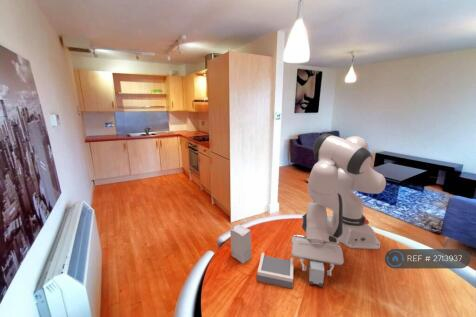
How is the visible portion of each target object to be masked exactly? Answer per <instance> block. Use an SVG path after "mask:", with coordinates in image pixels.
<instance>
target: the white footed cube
mask: <svg viewBox="0 0 476 317" xmlns="http://www.w3.org/2000/svg"><path fill="white" fill-rule="evenodd" d="M308 268H309V269H308V281H309V282H308V284H309V285H314V284H315V285H318V287H320V288H322V287H323V284H324V278H325V265H324V262H321V261H315V260H309V266H308Z"/></svg>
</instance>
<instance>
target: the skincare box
mask: <svg viewBox="0 0 476 317" xmlns="http://www.w3.org/2000/svg"><path fill="white" fill-rule="evenodd" d="M229 230H230V232H229V234H230V248H231V249H230V250H231V253H230V254H231V257H233V258H234V259H236V260H237V261H239V262H240V263H241V264H243V265H244V264H245V263H247V262H248V261H250V260H251V259H252V239H251V238H252V234H251V229H249V228H247V227H245V226H243V225H241V224H237V225H234V226H233V227H231V228H230V229H229Z"/></svg>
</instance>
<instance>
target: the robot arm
mask: <svg viewBox="0 0 476 317" xmlns="http://www.w3.org/2000/svg"><path fill="white" fill-rule="evenodd" d="M368 146H369V145H368V143H367V141H366V140H365V139H364V138H363V137H361V136H357V135H353V136H349V137H346V138H342V137H339V136H336V135H334V134H332V133H331V134H330V133H322V134H321V135H319V136H318V137H317V138H316V140H314V144H313V150H312V151H313V155H314V156H313V157H314V158H313V159H314V160H315V161H316V163H315V164H314V165H313V167H312V169H311V170H310V171H311V172H310V174H309V176H308V177H309V178H308V183H307V194H308V196H309V198H310V199H311V200H312V201H310V202H308V203H307V208H306V213H305V214H303V215H302V216H301V218H302V224H301V228H302V230H303V231H304V233H305V235H302V234H301V235H299V234H295V235H292V237H291V245H292V247H291V256H292V258H298V259H299V262H300V264H301V269H302V270H301V271H303V272H307V266H306V265H305V264H304V260H308V261H310V260H315V261H321V262H323V263H325V264H329V267H330V268H329V270H326V276H329V277H332V271H333V270H334V267H335V265H336V266H342V265H343V264H344V263H345V262H344V261H345V260H344V253H343V249H342V247H341V245H339V244H343V245H345V246H346V247H347V248H349V249H366V250H380V249H381V242H380V241H379V238H378V237H377V235H376V232H375V230H374V229H373V228H372V226H370V225H369V223H370V221H369V220H368V219H367V218H366V216H365V215H364V214H363V213H364V212H363V211H364V206H365V204H364V201H363V200H362V198H361V197H359V196H358V195H357V194H355V193H354V191H355V192H356V191H357V192H361V193H365V194H380V193H382V192H384V190H385V188H386V185H387V181H386V178H385V176H384V175H383V173H379V172H377V170H375V169H373V167H371V162H372V160H373V156H372V153H371V152H370V151H369V147H368ZM327 209H330V210H331V211H332V214H331V215H327V214H328V212H327Z"/></svg>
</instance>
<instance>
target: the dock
mask: <svg viewBox="0 0 476 317" xmlns="http://www.w3.org/2000/svg"><path fill="white" fill-rule="evenodd" d="M294 259H295V257H290V260H289V259H284V258H279V257H273V256H269V255H265V252H261V255H260V260H259V263H258V268H257V272H256V273H257V274H256V275H257V277H256V279H257V280H256V281H257V282H260V283H264V284H270V285H274V286H279V287H284V288H287V289H288V288H289V289H293V286H294V283H293V282H294Z"/></svg>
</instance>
